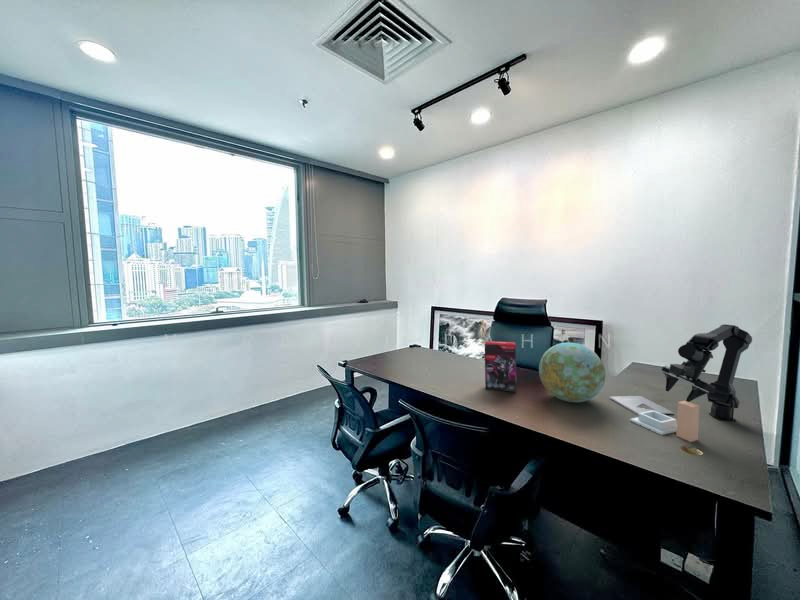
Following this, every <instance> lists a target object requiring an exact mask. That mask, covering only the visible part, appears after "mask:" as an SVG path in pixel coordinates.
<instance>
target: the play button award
mask: <svg viewBox="0 0 800 600" xmlns="http://www.w3.org/2000/svg"><path fill="white" fill-rule="evenodd" d="M611 399H612V400H611ZM609 400H611V401H613V402H614V403H616V402H617V403H616V404H618V403H619V404H618V405H619V406H621V405H622V406H621V407H623V406H624V407H623V408H625V409H626V408H627V409H626V410H627V411H630V412H631V413H633V414H635V415H637V416H638V414H639V413H642V412H647V411H652V410H654V411H656V412H659V413H661V414H664V415H666V414H674V415H675V413H674V411H672V410H669V409H667V408H665V407H664V406H662V405H660V404H658V403H656V402H653V401H652V400H650V399H648V398H646V397H644V396H642V395H626V396H625V395H624V396H622V395H621V396H620V395H619V396H618V395H617V396H616V395H615V396H609ZM641 405H645V406H647V407H648V408H650V409H645V408H640V407H639V406H641ZM666 416H667V415H666Z"/></svg>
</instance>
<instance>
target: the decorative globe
mask: <svg viewBox="0 0 800 600" xmlns="http://www.w3.org/2000/svg"><path fill="white" fill-rule="evenodd" d="M538 364H539V365H538V373H539V374H538V375H539V378H540V381H541V383H542V385H543V386H544V388H545V389H546V390H547V391H548V393H550V394H551V395H553V396H554V397H556V398H557V399H559V400H562V401H565V402H568V403H581V402H586V401H590V400H591V399H593V398H595V397H596V396H597V395H598V394H599V393H600V392H601V390H602V389H603V387H604V385H605V382H606V369H605V367H604V363H603V362H602V360H601V358H600V357H599V356H598V354H597V353H596V352H595V351H593V350H592V349H591V348H590V347H588V346H585V345H583V344H581V343H576V342H570V341H569V342H561V343H557V344H555V345H553V346H551V347H550V348H548V349H547V350H546V351H545V352H544V353H543V355H542V357H541V358H540V361H539V363H538Z"/></svg>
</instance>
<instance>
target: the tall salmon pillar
mask: <svg viewBox="0 0 800 600" xmlns="http://www.w3.org/2000/svg"><path fill="white" fill-rule="evenodd" d="M676 412H677V413H676V415H677V416H676V424H677V429H676V432H675V434H676V435H675V436H677V437H679V438H680V439H682V440H685V441H688V442H689V443H692V442H696V441H698V439H699V423H700V422H699V420H700V405H699V404H696V403H693V402H691V401H690V402H687V401H686V400H681V401H678V402H677V411H676Z"/></svg>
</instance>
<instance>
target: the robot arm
mask: <svg viewBox="0 0 800 600" xmlns="http://www.w3.org/2000/svg"><path fill="white" fill-rule="evenodd" d="M721 341H722V344H723V346H724V348H725V351H724V354H723V358H722V362H721V366H720V369H719V373H718V375H717V376H718V377H717V380H715V381H714V382H710V383H708V382H706V381H703V380H701V378H700V376H701V375H702V373H704V374H705V372H706V371H707V370H706V369H705V368H706V366H707V364H708V363H709V361H710V360H711V359H713V358H714V355H713V353H712V352H713V351H714V350H716V349H717V348H718V347H719V345H720V344H719V343H720V342H721ZM752 342H753V337H752V336H751V334H750V333H749V332H748V331H746V330H744V329H742V328H739V326H738V325H733V324H727V323H726V324H725V323H724V324H721V325H719V326H718V327H717V328H715V329H713V330H711V331H709V332H706V333H705V332H704V333H703V332H702V333H695V334H694V335H692V337H691V338H690V339H689V340H688V341H686V343H685V344H682V345H681V346H680V347H679V348H678V350H677V353H678V355H679V356H680V357H681V358H683V359H685V360H687V361H682V363H670V365H664V366H662V367H661V371H662V373H663V375H665V376H664V377H665V379H666V380H665V381H666V383H665V392H669V391H670V390H672V389H673V387H674V386H675V384H676V383H678V381H679V380H680V379H679V378H681V379H683V380H685V381H688V382H690V383H691V390H690V392H689V394H688V395H687V397H686V400H685V401H687V402H690V403H691V401H693V400H695V399H697V398H700V397H702V396H703V395H704V396H705V395H707V401H708V402H709V403H711V405H710V412H708V415H710V416H712V417H713V418H715V419H717V420H719V421H731V422H732V421H733V422H736V421H737V419H736V418H735V417H734V415H735V414H734V411H735V409H738V408H739V405H740V401H739V398H737V396H736V393H737V392H736V391H737V390H736V389H735V387H734V385H733V383H734V380H735V376H736V374H737V373H736V372H737V369H738V365H739V362H740V358H741V355H742V353H743V352H744V351H746V350H748V349H749V347H750V344H752ZM693 384H694V385H693Z"/></svg>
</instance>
